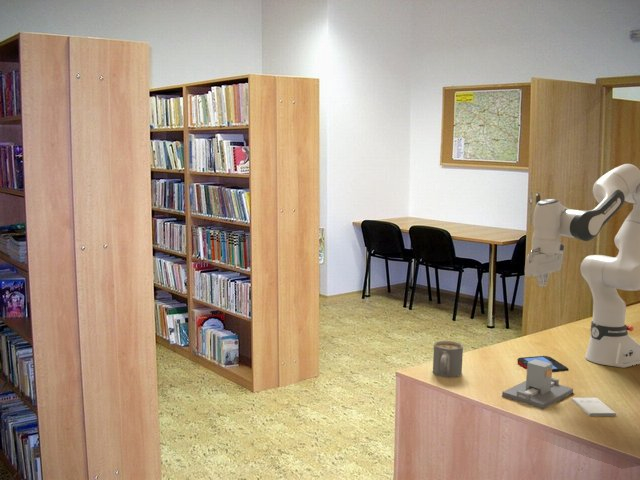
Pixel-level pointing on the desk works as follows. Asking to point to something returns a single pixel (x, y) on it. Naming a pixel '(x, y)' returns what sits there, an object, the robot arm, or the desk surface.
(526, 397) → the rail mount
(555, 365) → the game console
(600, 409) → the external hard drive
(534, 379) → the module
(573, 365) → the desk surface
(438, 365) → the coffee mug
